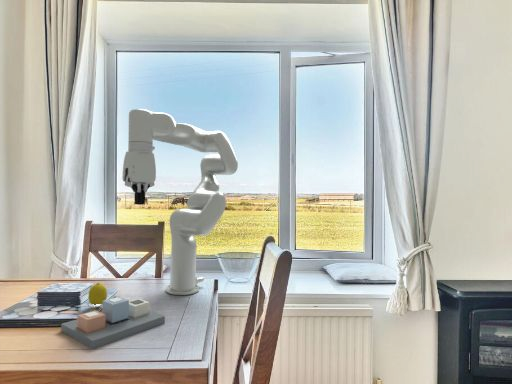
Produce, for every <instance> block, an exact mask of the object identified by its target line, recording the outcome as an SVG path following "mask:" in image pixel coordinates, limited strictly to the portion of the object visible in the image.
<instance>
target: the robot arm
mask: <svg viewBox="0 0 512 384" xmlns="http://www.w3.org/2000/svg"><path fill="white" fill-rule="evenodd" d="M153 141H157V142H162V143H166V144H170V145H175V146H181V147H182V146H183V147H184V148H188V149H190V150H194V151H197V152H200V153H203V154H204V153H205V154H206V153H207V154H208V155H205V156H204V157H203V158H202V159H201V161H200V173H201V176H200V177H201V179H200V182H199V183H198V185H197V186H196V187H195V188H194V190H193V192H192V193H191V194H190V195H189V197H188V199H187V201H186V206H187V208H178V209H176V210H174V211H172V213H171V215H170V217H169V228H170V235H171V237H170V238H171V247H170V248H171V252H170V253H171V254H170V273H169V274H170V279H169V280H170V281H169V285H167V286H166V287H165V292H166V293H167V294H169V295H174V296H188V295H193V294H196V293H198V292H199V291H200V287H199V285H198V284H199V283H202V282H204V280H205V279H204V277H203V276H199V277H197V276H196V270H197V241H196V238H195V236H201V237H204V236H207V235H209V234H210V233H212V231H213V230H214V228H215V227H216V225H217V223H219V220H220V219H221V217H222V216H223V214H224V212H225V210H226V206H227V198H226V196H225V195H224V193H222V192H221V191H219V190H220V184H219V183H220V182H219V181H218V180H217V178H218V177H217V176H219V175H221V176H222V175H223V176H224V175H225V176H228V175H230V176H231V175H234V174H235V173H236V172H237V170H238V168H239V163H238V158H237V156H236V154H235V151H234V149H233V147H232V144H231V142H230V140H229V138H228V137H227V135H226V134H225V133H224V132H223V131H221V130H214V131H205V130H203V129H201V128H199V127H196V126H193V125H191V124H188V123H182V122H181V123H179V122H176V121H175V119H174V117H173V116H172V115H170V114H168V113H166V112H153V111H150V110H148V109H143V108H141V109H140V108H138V109H137V108H136V109H135V108H133V109H131V110H130V111H129V112H128V141H127V142H128V150H127V151H126V152H125V155H124V157H123V166H122V182H124V186H125V187H128V188H130V189H131V190H132V192H133V193H134V205H137V206H139V205H140V206H143V205H146V193H147V192H148V191H149V188H151V187H154V186H155V181H156V177H157V170H156V169H157V168H156V158H155V154H154V153H153V151H155V149H156V148H155V145H154V144H153ZM209 153H210V154H209ZM211 153H218V154H211Z"/></svg>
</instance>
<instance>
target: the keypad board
mask: <svg viewBox="0 0 512 384" xmlns="http://www.w3.org/2000/svg"><path fill="white" fill-rule="evenodd" d="M100 312H101V313H102V311H100ZM77 319H78V318H77ZM77 319H74V320H70V321H67V322H63V323H61V328H60V329H61V332H62V333H63V334H66V335H67V336H69V337H71V338H72V339H74V340H76V341H78V342H79V343H81V344H83V345H85V346H87V347H88V348H89V349H92V350H93V349H97V348H99V347H101V346H105V345H107V344H110V343H113V342H116V341H118V340H121V339H124V338H126V337H129V336H133V335H135V334H138V333H140V332H143V331H147V330H149V329H151V328H155V327H157V326H159V325H163V324H165V323H166V322H165V321H166V320H165V319H166V315H163V314H160V313H157V312H155V311H153V310H150V309H149V313H148V314H145V315H142V316H139V317H136V318H133V317H130V316H128V318H126V319H123V320H120V321H117V322H113V323H111V322H109V321H107V320H106V321H105V328H102V329H99V330H96V331H92V332H89V333H85V332H83V331H81V330H79V329H77Z"/></svg>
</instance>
